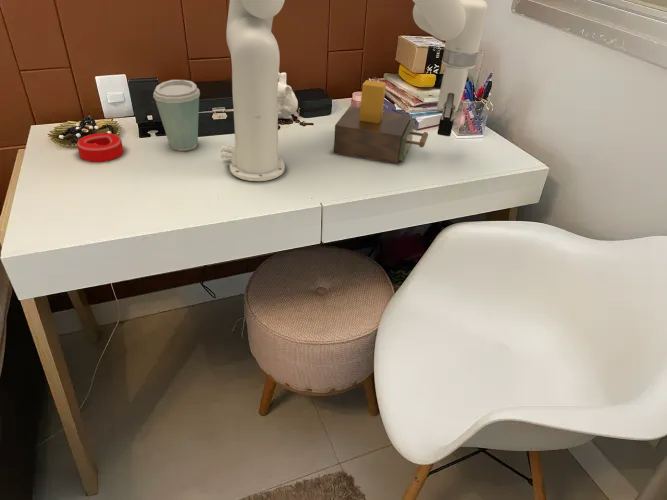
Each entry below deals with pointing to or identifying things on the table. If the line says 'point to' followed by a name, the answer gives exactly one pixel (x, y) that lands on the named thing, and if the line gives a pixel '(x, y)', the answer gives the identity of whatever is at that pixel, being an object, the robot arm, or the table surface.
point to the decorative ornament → (100, 147)
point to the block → (372, 101)
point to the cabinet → (370, 136)
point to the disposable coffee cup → (179, 112)
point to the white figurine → (285, 98)
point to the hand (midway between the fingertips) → (443, 134)
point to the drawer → (410, 139)
